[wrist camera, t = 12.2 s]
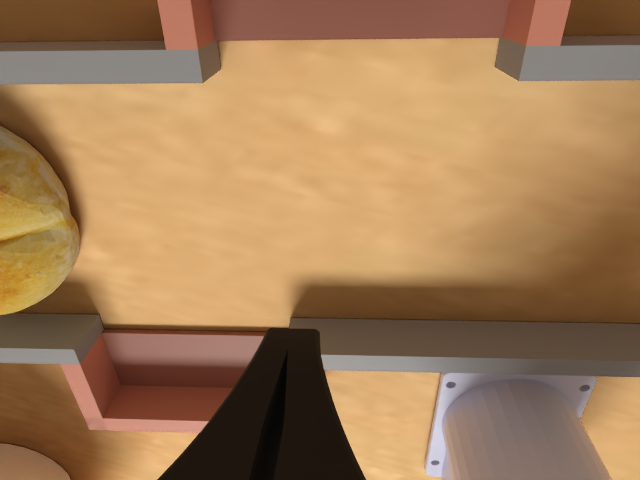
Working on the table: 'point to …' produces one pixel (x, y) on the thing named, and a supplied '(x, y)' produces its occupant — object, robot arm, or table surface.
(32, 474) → the bowl
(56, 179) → the bread roll
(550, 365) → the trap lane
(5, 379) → the table surface
